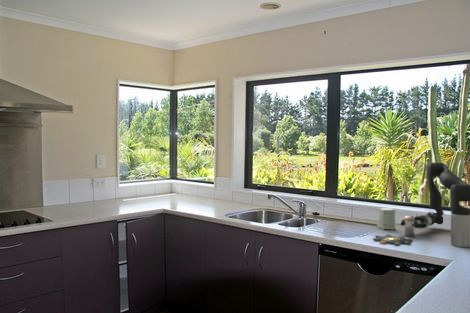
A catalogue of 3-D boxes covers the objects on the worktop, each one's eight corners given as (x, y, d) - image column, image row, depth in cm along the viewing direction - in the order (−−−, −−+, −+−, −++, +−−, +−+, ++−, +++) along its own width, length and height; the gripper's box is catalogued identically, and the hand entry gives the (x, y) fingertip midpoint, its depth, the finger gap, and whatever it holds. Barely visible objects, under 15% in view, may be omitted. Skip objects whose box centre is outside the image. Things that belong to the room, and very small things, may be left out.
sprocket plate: (420, 241, 218) (420, 239, 218) (399, 247, 206) (399, 245, 206) (386, 234, 235) (386, 232, 235) (365, 240, 223) (365, 237, 223)
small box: (390, 227, 256) (390, 207, 255) (395, 229, 249) (395, 209, 249) (378, 227, 255) (378, 208, 255) (383, 230, 249) (383, 209, 248)
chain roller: (415, 236, 231) (415, 216, 230) (411, 237, 228) (411, 217, 227) (407, 234, 235) (407, 215, 235) (403, 236, 232) (403, 216, 232)
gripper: (411, 213, 245) (397, 216, 236) (433, 217, 234) (419, 220, 224) (411, 225, 246) (397, 229, 236) (433, 229, 234) (419, 233, 225)
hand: (408, 224), depth 230 cm, fingers open, 8 cm apart
